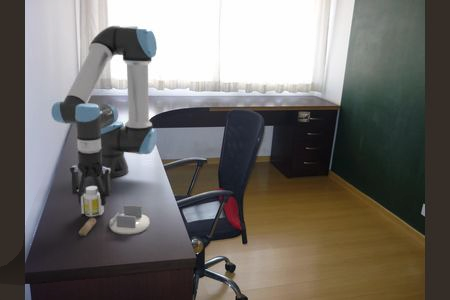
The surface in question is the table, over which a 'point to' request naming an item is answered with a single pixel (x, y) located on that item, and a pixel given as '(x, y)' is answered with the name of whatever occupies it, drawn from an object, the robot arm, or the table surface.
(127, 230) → the jar holder
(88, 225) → the wick dowel
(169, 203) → the table surface
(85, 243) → the table surface
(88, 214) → the supplement bottle
